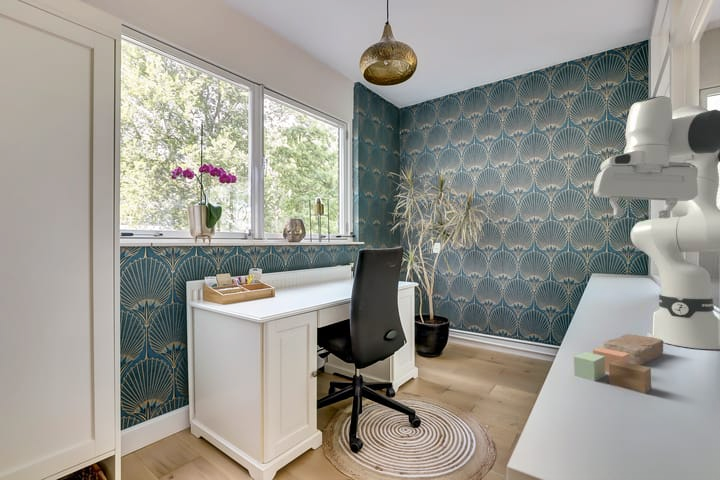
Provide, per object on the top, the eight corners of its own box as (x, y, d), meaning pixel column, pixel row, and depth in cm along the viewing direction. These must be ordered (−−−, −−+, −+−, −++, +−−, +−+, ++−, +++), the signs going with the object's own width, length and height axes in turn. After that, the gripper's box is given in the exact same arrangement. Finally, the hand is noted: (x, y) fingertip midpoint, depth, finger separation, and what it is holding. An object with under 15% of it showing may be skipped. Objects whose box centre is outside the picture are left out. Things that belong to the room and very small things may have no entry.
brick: (639, 367, 82) (639, 348, 82) (601, 358, 89) (600, 340, 89) (664, 356, 91) (664, 339, 91) (627, 348, 98) (627, 332, 98)
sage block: (585, 370, 80) (585, 351, 80) (605, 375, 77) (604, 356, 77) (574, 376, 77) (574, 356, 77) (594, 381, 73) (593, 361, 73)
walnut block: (609, 384, 72) (609, 363, 72) (616, 380, 74) (616, 360, 74) (644, 394, 67) (644, 372, 67) (651, 389, 69) (650, 367, 69)
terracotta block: (593, 368, 81) (593, 350, 81) (600, 365, 83) (599, 347, 84) (623, 376, 76) (622, 356, 76) (629, 372, 79) (629, 353, 79)
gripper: (690, 166, 82) (685, 221, 81) (593, 164, 89) (589, 215, 88) (707, 158, 76) (702, 218, 76) (602, 157, 83) (597, 211, 82)
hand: (640, 216), depth 82 cm, fingers open, 8 cm apart
